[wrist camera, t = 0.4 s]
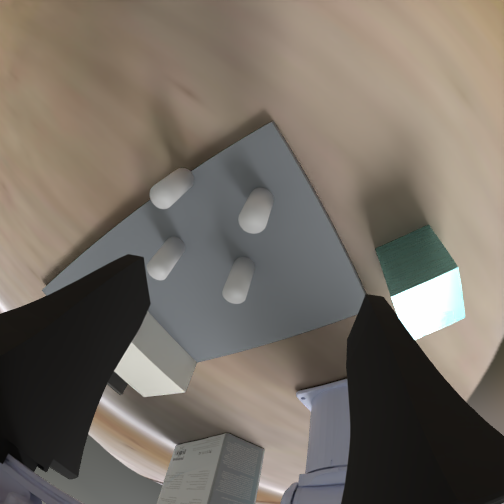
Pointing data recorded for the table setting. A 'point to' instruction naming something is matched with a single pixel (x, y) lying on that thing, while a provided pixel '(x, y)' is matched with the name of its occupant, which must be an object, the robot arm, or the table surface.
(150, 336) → the block
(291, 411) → the table surface
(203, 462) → the hard drive box
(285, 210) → the base plate
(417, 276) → the teal block
